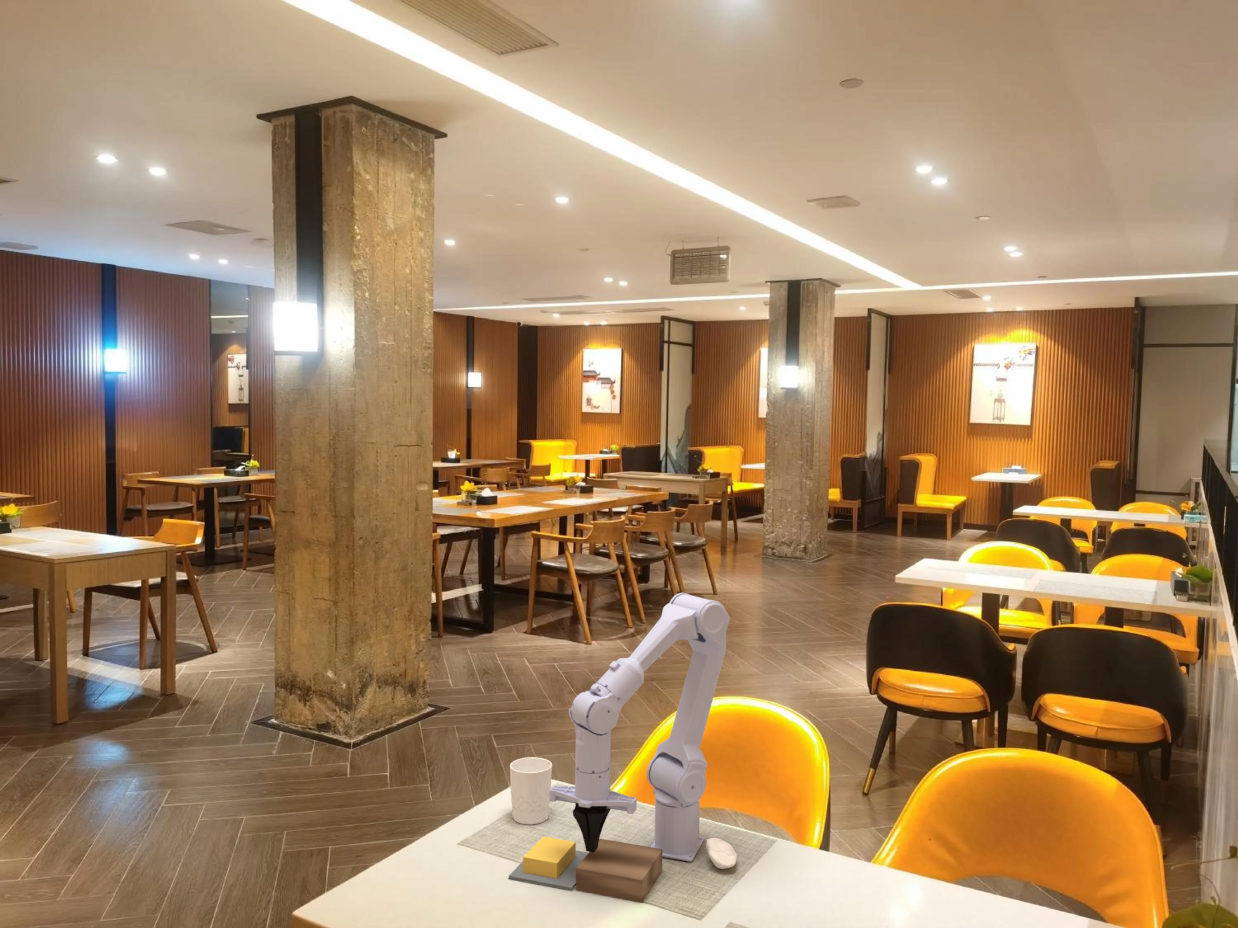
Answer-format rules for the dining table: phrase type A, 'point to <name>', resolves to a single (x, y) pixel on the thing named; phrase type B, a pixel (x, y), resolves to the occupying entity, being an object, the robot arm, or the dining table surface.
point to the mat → (562, 882)
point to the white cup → (530, 789)
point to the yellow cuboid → (549, 857)
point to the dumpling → (721, 853)
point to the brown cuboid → (619, 870)
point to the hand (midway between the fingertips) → (592, 849)
